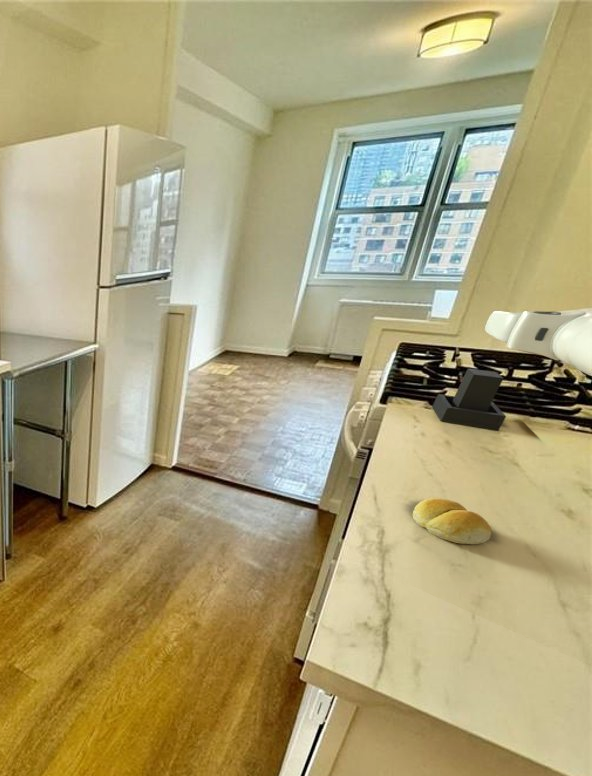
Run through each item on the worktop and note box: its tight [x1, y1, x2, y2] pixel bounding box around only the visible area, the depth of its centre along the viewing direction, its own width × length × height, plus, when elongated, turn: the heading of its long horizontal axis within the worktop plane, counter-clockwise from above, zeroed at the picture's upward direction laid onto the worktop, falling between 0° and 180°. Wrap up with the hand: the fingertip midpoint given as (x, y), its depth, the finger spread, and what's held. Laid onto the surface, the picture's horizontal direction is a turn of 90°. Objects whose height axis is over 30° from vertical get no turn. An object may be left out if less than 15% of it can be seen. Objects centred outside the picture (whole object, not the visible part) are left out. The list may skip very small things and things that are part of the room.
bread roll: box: [412, 497, 492, 545], centre depth 74 cm, size 8×9×4 cm
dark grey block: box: [451, 368, 505, 412], centre depth 110 cm, size 5×5×10 cm
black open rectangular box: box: [432, 393, 507, 431], centre depth 112 cm, size 10×10×4 cm
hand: (545, 320), depth 91 cm, fingers open, 8 cm apart
